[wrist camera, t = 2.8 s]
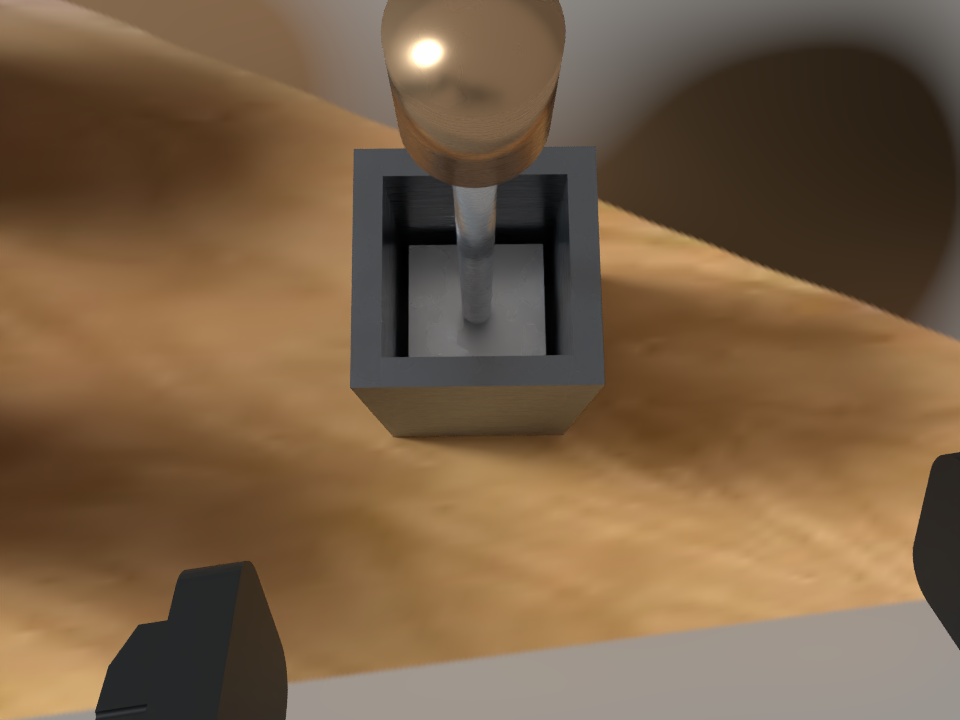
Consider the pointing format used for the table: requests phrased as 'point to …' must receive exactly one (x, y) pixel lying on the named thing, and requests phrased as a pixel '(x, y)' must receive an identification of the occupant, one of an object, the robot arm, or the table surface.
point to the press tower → (476, 379)
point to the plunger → (474, 161)
